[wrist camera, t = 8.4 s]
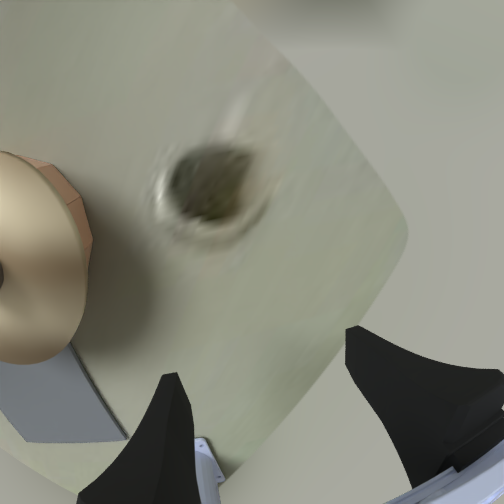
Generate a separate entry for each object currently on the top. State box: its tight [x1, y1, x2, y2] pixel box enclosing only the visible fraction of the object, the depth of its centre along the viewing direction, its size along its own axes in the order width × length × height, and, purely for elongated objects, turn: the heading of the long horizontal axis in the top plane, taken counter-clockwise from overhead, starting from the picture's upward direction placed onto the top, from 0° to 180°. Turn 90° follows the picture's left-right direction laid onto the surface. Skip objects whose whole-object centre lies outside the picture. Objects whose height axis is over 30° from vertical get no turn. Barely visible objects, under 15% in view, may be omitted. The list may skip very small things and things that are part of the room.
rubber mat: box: [0, 342, 126, 443], centre depth 22 cm, size 13×13×1 cm
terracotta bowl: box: [16, 155, 93, 271], centre depth 16 cm, size 11×11×4 cm
